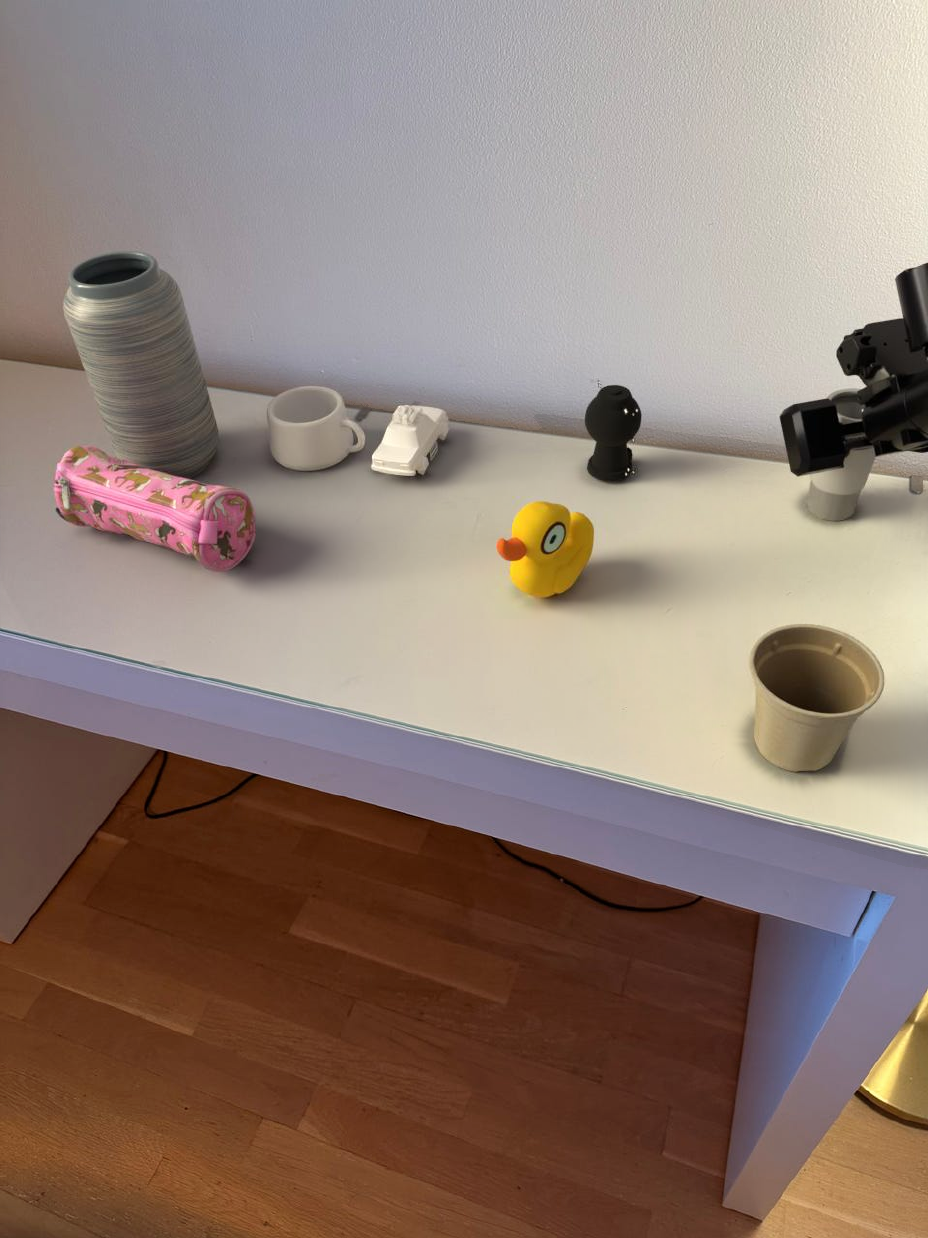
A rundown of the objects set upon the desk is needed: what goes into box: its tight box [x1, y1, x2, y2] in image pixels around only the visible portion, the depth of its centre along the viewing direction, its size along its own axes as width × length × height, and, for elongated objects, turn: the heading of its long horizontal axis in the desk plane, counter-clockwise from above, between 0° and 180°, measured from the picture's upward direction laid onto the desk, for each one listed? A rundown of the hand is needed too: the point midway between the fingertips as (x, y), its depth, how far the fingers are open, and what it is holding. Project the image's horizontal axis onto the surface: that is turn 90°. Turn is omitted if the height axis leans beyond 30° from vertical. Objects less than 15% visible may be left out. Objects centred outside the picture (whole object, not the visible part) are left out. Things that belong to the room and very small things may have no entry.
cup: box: [806, 387, 877, 522], centre depth 91 cm, size 7×7×12 cm
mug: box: [266, 385, 366, 472], centre depth 106 cm, size 12×10×6 cm
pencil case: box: [53, 445, 257, 573], centre depth 94 cm, size 21×9×9 cm, turn 63°
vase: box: [62, 250, 220, 479], centre depth 100 cm, size 12×12×23 cm
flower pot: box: [748, 623, 885, 773], centre depth 71 cm, size 9×9×9 cm
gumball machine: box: [584, 379, 642, 482], centre depth 98 cm, size 7×6×10 cm
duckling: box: [496, 500, 595, 599], centre depth 85 cm, size 11×5×10 cm, turn 131°
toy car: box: [370, 404, 450, 477], centre depth 103 cm, size 6×12×7 cm, turn 162°
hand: (837, 445), depth 92 cm, fingers closed on cup, 6 cm apart
